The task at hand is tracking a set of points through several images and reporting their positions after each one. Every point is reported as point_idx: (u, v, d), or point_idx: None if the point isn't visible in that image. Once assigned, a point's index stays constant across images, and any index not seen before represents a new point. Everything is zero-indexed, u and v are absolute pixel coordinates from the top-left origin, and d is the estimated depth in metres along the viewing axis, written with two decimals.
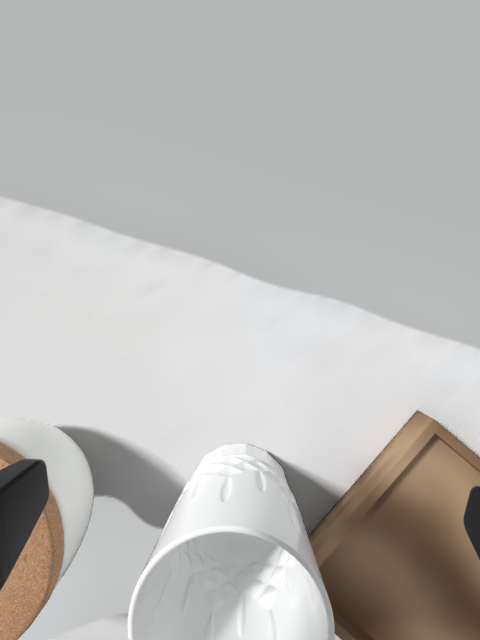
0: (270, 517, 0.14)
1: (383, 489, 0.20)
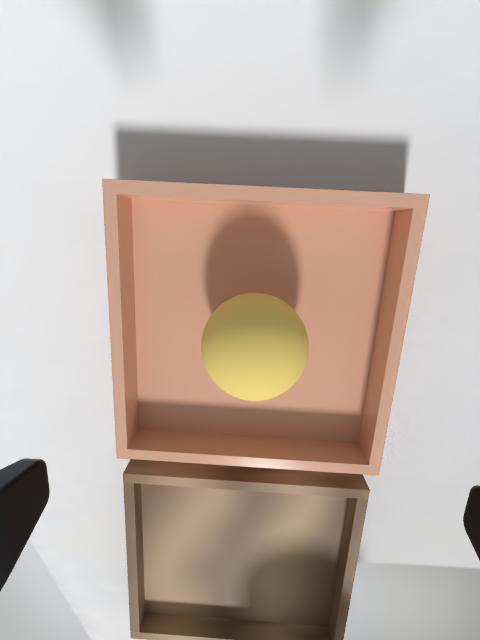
0: None
1: (209, 638, 0.22)
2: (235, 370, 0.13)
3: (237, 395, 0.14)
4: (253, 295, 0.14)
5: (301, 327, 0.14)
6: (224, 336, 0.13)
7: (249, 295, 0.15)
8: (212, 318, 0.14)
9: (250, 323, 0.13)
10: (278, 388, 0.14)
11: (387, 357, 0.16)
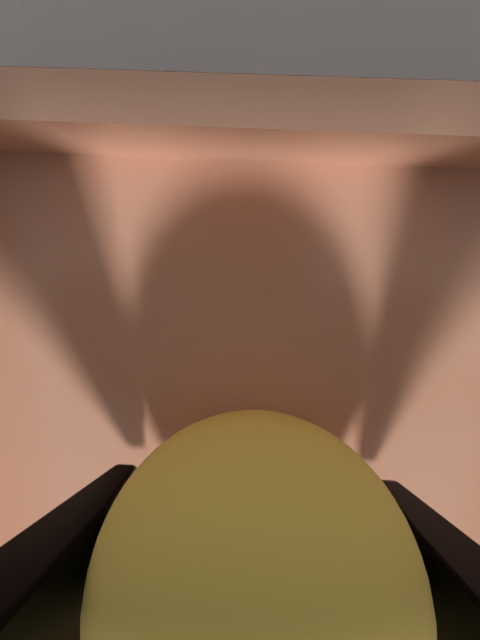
0: None
1: None
2: None
3: None
4: (250, 451, 0.04)
5: (419, 569, 0.04)
6: None
7: (235, 448, 0.04)
8: (110, 530, 0.04)
9: None
10: None
11: None
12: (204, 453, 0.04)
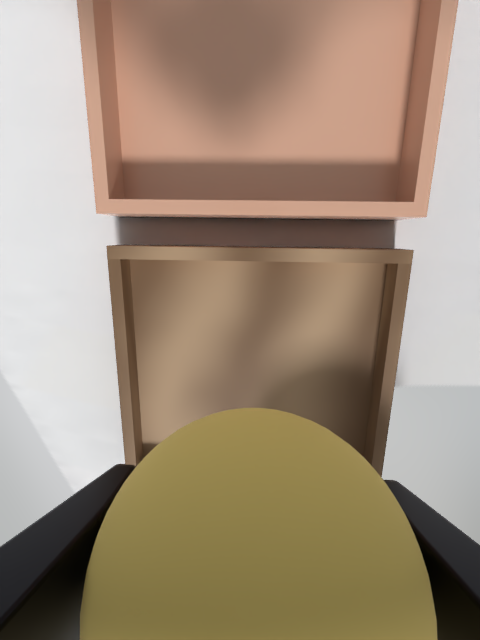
0: None
1: None
2: None
3: None
4: (250, 449, 0.04)
5: (420, 566, 0.04)
6: None
7: (236, 446, 0.04)
8: (110, 528, 0.04)
9: (235, 639, 0.03)
10: None
11: (437, 30, 0.12)
12: (204, 451, 0.04)
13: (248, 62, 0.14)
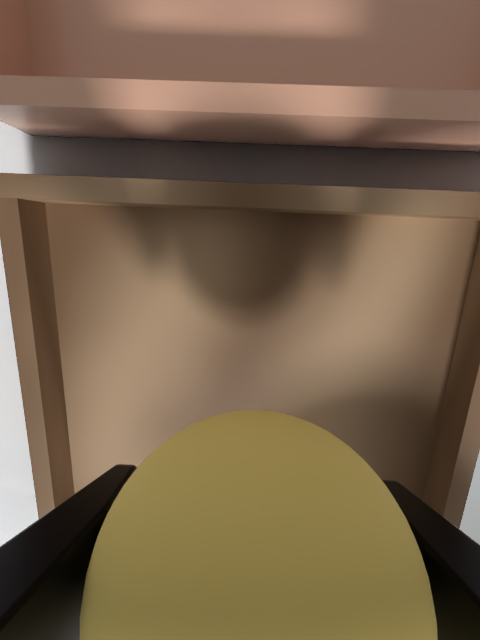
0: None
1: None
2: None
3: None
4: (250, 451, 0.04)
5: (420, 569, 0.04)
6: None
7: (236, 449, 0.04)
8: (110, 531, 0.04)
9: None
10: None
11: None
12: (204, 453, 0.04)
13: None
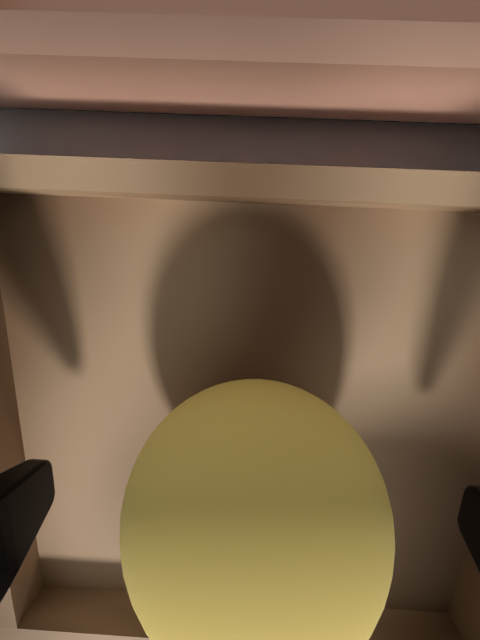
0: None
1: None
2: None
3: None
4: (251, 402, 0.06)
5: (381, 490, 0.05)
6: (164, 555, 0.04)
7: (240, 401, 0.06)
8: (143, 464, 0.05)
9: (241, 523, 0.04)
10: None
11: None
12: (215, 405, 0.06)
13: None
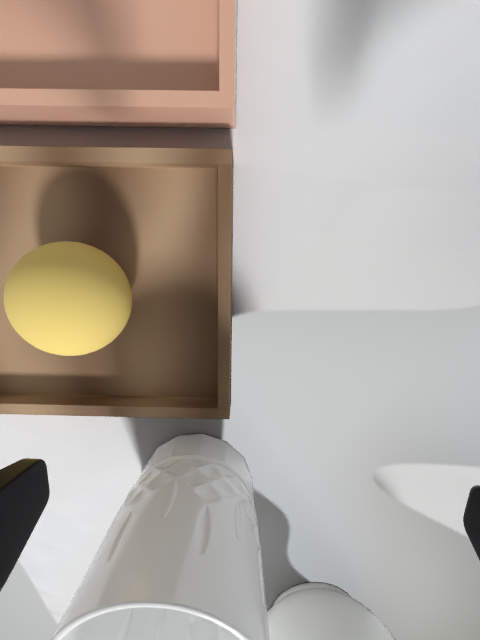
0: None
1: (63, 407, 0.17)
2: (22, 317, 0.12)
3: (41, 348, 0.13)
4: (58, 242, 0.14)
5: (108, 272, 0.13)
6: (11, 281, 0.12)
7: (54, 242, 0.14)
8: None
9: (36, 266, 0.12)
10: (78, 336, 0.13)
11: None
12: None
13: None
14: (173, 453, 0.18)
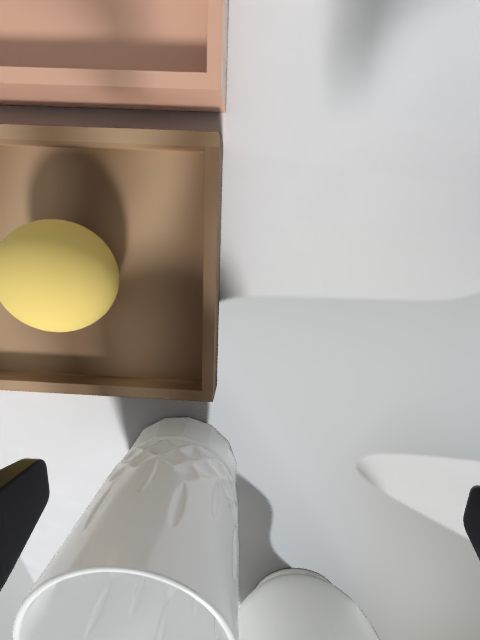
0: None
1: (51, 384, 0.18)
2: (8, 290, 0.13)
3: (27, 322, 0.14)
4: (46, 219, 0.14)
5: (94, 250, 0.14)
6: None
7: None
8: None
9: (23, 241, 0.13)
10: (63, 311, 0.13)
11: None
12: None
13: None
14: (157, 433, 0.18)
